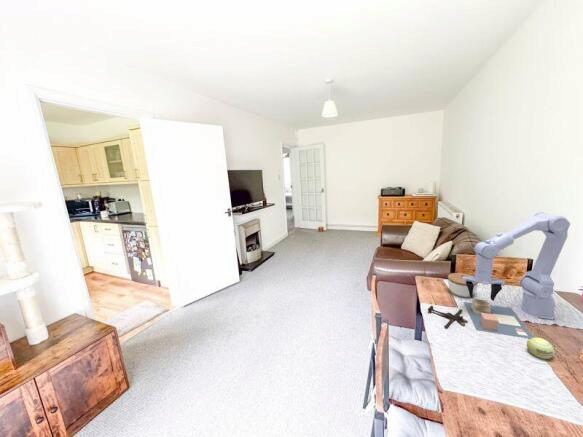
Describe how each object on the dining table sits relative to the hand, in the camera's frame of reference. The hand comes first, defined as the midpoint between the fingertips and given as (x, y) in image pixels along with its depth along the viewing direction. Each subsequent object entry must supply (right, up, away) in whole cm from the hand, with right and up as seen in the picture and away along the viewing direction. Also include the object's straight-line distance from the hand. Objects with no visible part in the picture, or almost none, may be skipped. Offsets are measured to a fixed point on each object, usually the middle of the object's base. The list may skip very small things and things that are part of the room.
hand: (481, 298), depth 107 cm
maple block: (+1, -6, +1) cm, 7 cm away
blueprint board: (+3, -8, -4) cm, 9 cm away
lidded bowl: (+3, -4, +17) cm, 18 cm away
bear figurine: (-15, -9, 0) cm, 18 cm away
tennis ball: (+1, -12, -24) cm, 27 cm away
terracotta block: (-4, -9, -9) cm, 13 cm away
